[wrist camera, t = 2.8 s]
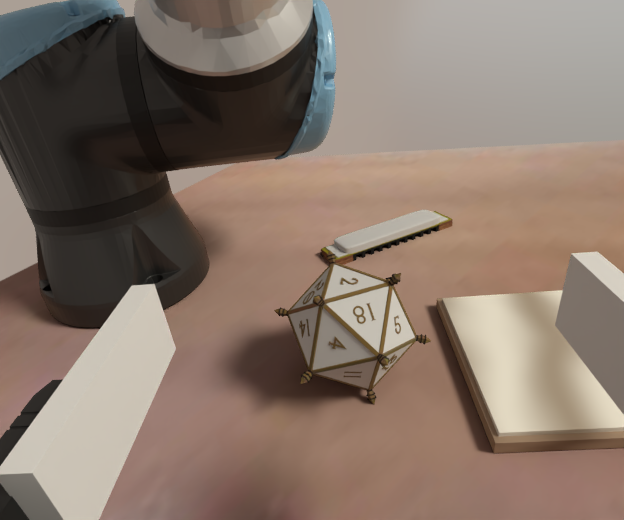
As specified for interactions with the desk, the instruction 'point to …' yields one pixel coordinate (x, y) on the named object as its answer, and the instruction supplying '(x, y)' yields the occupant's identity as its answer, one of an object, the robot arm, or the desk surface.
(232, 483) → the desk surface
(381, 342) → the game die
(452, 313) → the board
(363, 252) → the harmonica
